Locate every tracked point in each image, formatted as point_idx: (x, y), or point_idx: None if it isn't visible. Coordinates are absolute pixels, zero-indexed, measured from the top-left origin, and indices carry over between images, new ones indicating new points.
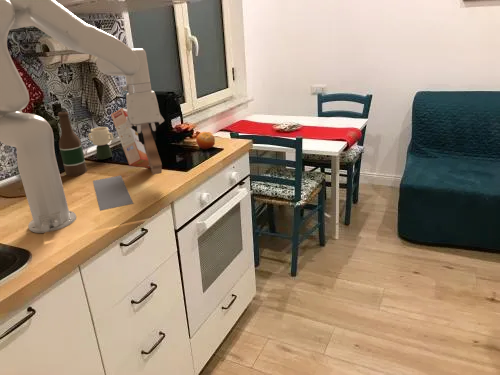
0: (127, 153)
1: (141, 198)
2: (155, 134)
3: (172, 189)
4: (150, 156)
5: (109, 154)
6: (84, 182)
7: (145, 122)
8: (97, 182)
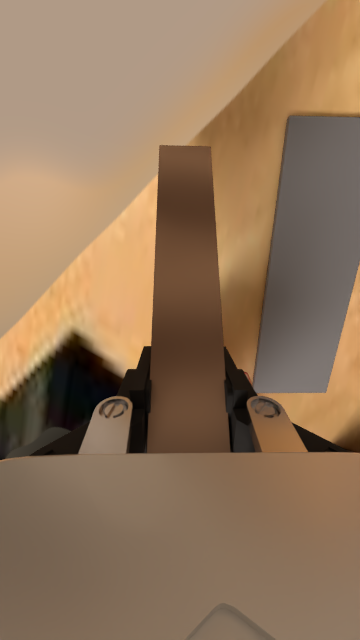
0: None
1: (250, 170)
2: (122, 385)
3: (143, 194)
4: (209, 195)
5: None
6: (341, 399)
7: (216, 456)
8: (320, 373)
